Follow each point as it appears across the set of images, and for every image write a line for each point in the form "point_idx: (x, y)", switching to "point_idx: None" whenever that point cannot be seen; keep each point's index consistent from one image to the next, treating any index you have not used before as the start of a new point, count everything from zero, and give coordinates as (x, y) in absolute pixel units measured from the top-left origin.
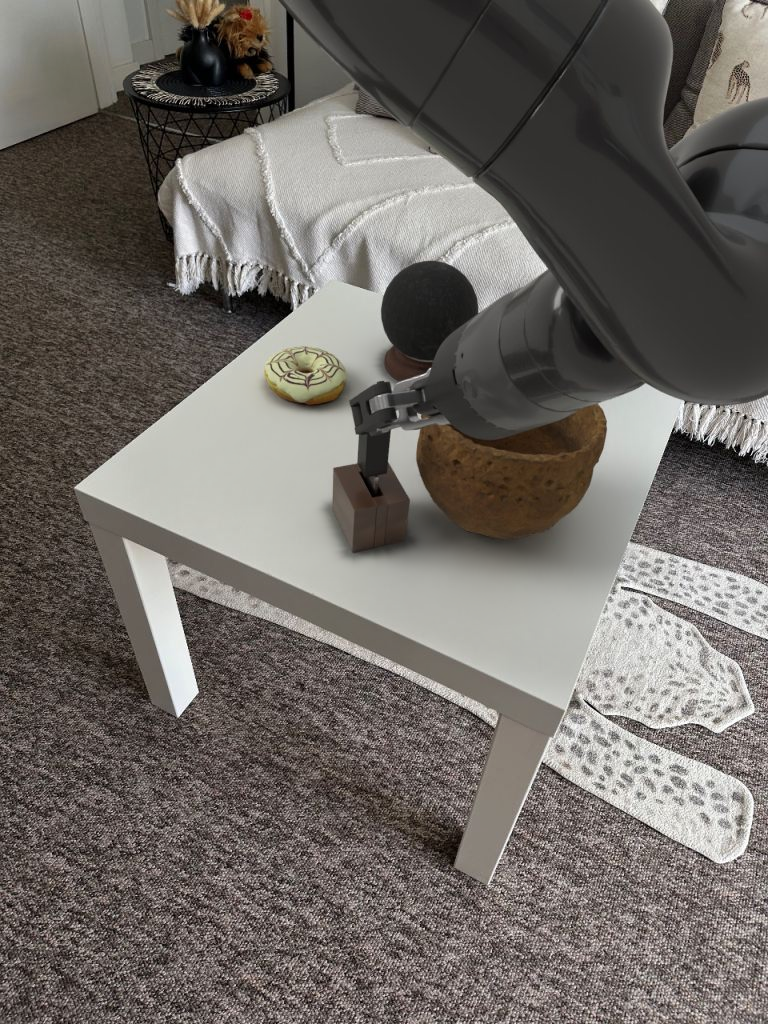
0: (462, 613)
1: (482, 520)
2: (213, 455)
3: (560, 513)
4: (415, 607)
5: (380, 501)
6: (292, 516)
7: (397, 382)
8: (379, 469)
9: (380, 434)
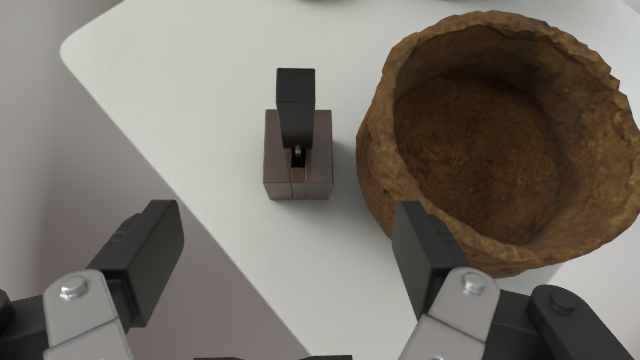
0: (349, 312)
1: None
2: (183, 35)
3: (503, 277)
4: (304, 289)
5: (298, 175)
6: (229, 135)
7: (45, 355)
8: (301, 145)
9: (179, 256)
